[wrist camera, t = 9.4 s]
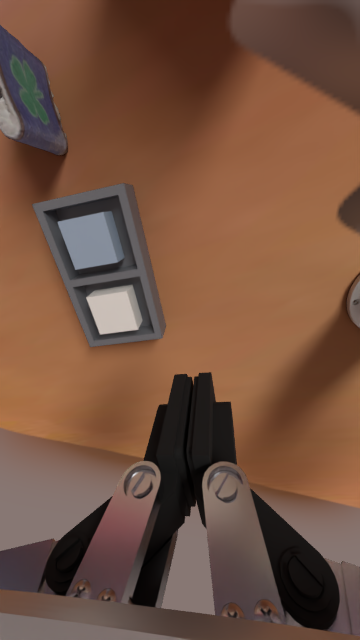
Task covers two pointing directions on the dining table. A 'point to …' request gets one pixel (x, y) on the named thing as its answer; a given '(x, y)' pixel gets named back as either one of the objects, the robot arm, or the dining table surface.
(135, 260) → the key panel
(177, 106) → the dining table surface
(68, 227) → the blue key
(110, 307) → the white key
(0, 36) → the dark blue boxy piece
